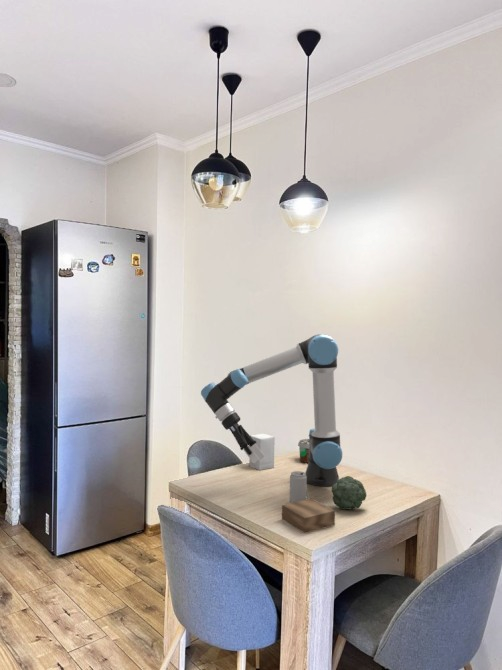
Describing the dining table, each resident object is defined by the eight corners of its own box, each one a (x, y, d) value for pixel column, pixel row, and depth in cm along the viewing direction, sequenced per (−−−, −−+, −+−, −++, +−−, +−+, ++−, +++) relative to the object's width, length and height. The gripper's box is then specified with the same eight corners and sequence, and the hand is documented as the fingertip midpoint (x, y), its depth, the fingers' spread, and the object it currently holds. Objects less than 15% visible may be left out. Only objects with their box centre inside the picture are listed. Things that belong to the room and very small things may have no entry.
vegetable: (368, 495, 188) (373, 490, 174) (347, 520, 185) (351, 517, 171) (344, 473, 192) (347, 467, 179) (323, 497, 189) (325, 493, 176)
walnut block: (310, 512, 176) (311, 498, 175) (334, 525, 165) (334, 510, 164) (281, 519, 169) (282, 505, 169) (304, 533, 158) (305, 518, 158)
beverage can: (305, 508, 179) (306, 476, 179) (288, 506, 181) (289, 474, 180) (306, 502, 186) (307, 471, 185) (290, 500, 187) (291, 469, 187)
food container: (296, 457, 248) (297, 438, 247) (308, 457, 247) (309, 438, 247) (298, 464, 235) (298, 444, 235) (311, 464, 235) (311, 444, 235)
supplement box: (274, 467, 229) (275, 436, 229) (259, 470, 224) (260, 438, 224) (263, 463, 237) (264, 432, 236) (248, 465, 232) (249, 435, 231)
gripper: (227, 422, 208) (257, 462, 203) (213, 422, 184) (245, 468, 179) (241, 411, 208) (271, 452, 203) (228, 410, 184) (261, 456, 179)
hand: (259, 459), depth 191 cm, fingers open, 13 cm apart
